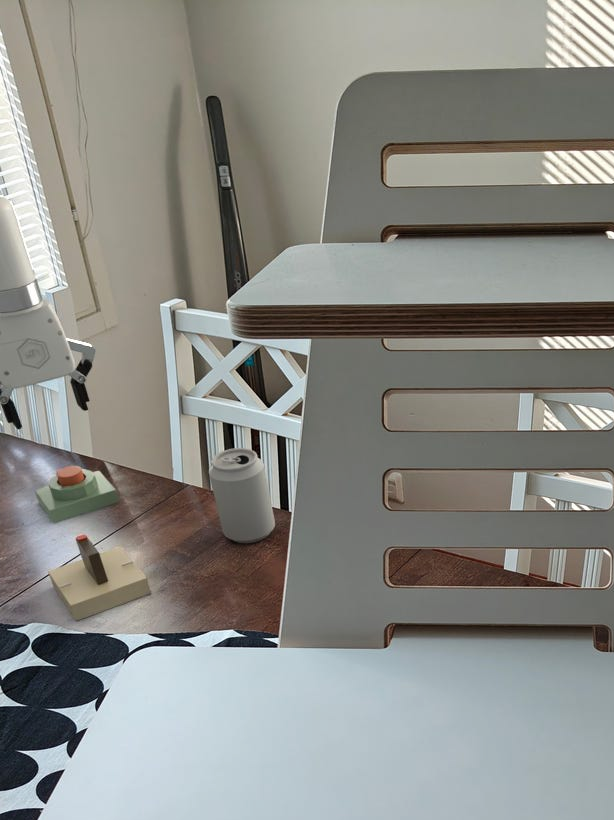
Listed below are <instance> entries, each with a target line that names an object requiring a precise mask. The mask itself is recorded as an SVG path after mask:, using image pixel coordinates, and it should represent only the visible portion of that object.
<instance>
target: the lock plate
mask: <svg viewBox="0 0 614 820" xmlns="http://www.w3.org/2000/svg"><path fill="white" fill-rule="evenodd" d="M99 554H100V557H101V560H102V563H103V566H104V569H105V572H106V575H107V578H108V582H105V583H102V584H99V585H98V584H97V583H96V581H95V580H94V579H93V577H92V576H91V574H90V573H89V572H88V570H87V569H86V567H85V565H84V562H83V559H82V558H81V559H79V560H77V561H74V562H71V563H68V564H65V565H62V566H59V567H57V568H54V569H51V570H48V571H47V573H48V576H49V578H50V581H51V584H52V586H53V589H54V590H55V592H56V593H57V594H58V597H60V599H61V601H62V602H63V603H64V605H65V607H66V608H67V610H68V611H69V613H70V615H72V617H73V619H74V620H75V622H78V621H80V620H83V619H86V618H88V617H91V616H94V615H96V614H99V613H102V612H104V611H107V610H110V609H113V608H115V607H118V606H121V605H125V604H126V603H130V602H131V601H134V600H138V599H139V598H142V597H145V596H147V595H150V594H152V591H151V587H150V584H149V581H148V578H147V576H146V575H145V574H144V572H142V570H141V569H140V568H139V566H138V565H137V564H136V562H135V561H134V560H133V559H132V558H131V557H130V555H129V554H128V552H126V550H125V549H124V548H123V546H122V545H120V546H117V547H115V548H112V549H111V548H110V549H109V550H105V551H103V552H99Z"/></svg>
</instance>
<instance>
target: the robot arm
mask: <svg viewBox="0 0 614 820" xmlns="http://www.w3.org/2000/svg"><path fill="white" fill-rule="evenodd" d="M22 231H23V230H22V228H21V225H20V221H19V218H18V215H17V212H16V209H15V207H14V204H13V203H12V201H11V200H10V199H9V198H7V197H6V196H5V195H2V194H0V406H1V409H2V411H3V414H4V417H5V419H6V421H7V423H8V424H13V426H14V427H15V428H16V430H21V429H22V428H23V425H22V422H21V419H20V416H19V413H18V411H17V408H16V404H15V403H14V401H13V399H11V396H12V393H13V391H14V390H15V389H21V388H26V387H29V386H33V385H38V384H41V383H45V382H49V381H53V380H56V379H61V378H63V377H66V376H68V377H70V381H69V383H70V386H71V389H72V392H73V396H74V399H75V401H76V404H77V406H78V407H79V408H80V409H81V410H82V411H84V412H86V411H89V406H88V404H87V403H89V402H90V397H89V393H88V391H87V390H88V389H87V387H86V384H85V383H86V382H87V377H88V375H89V373H90V372H91V370H92V368H93V362H94V359H95V355H96V348H95V346H93V345H92V344H90V343H86V342H82V341H79V340H75V339H71V338H67V336H66V333H65V331H64V328H63V326H62V323H61V321H60V319H59V316H58V313H57V312H56V310H55V308H54V306H53V304H52V303H51V301H50V300H49V299H47V298H45V297H43V296H42V293H41V289H40V285H39V282H38V279H37V277H36V273H35V270H34V266H33V263H32V260H31V257H30V254H29V251H28V248H27V243H26V240H25V238H24V235H23V232H22ZM72 351H74V352H77V353H81V354H82V355H81V359H80V360H79V363H78V364H77V366H76V362H75V358H74V355H73V352H72Z"/></svg>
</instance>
